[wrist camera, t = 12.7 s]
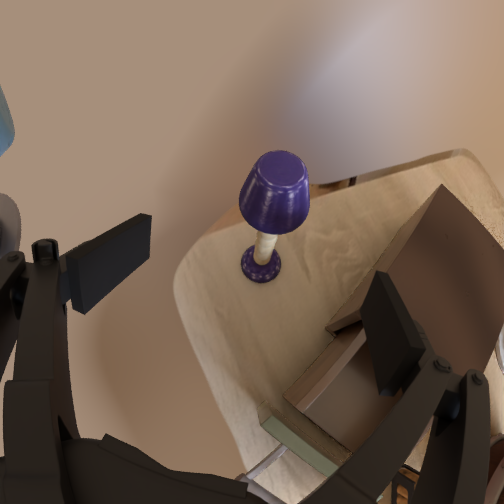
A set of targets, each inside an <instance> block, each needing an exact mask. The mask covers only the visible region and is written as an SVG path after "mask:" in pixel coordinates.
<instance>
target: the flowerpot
mask: <svg viewBox="0 0 504 504" xmlns="http://www.w3.org/2000/svg"><path fill="white" fill-rule="evenodd" d="M484 504H504V434H502V433H500V434H498V436H494V437H492V438H490V458H489V471H488V480H487V488H486V495H485V501H484Z"/></svg>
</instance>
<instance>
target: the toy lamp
mask: <svg viewBox="0 0 504 504" xmlns="http://www.w3.org/2000/svg"><path fill="white" fill-rule="evenodd" d="M239 207H240V211H241V213H242V216H243V217H244V219H245V220H246V221H247V222H248V224H249V225H251V226H252V227H253V228H255V229H256V230H258V232H257V239H256V242H255V245H253V246H251V247H250V248H248V249H247V250H246V251H245V253H244V254H243V256H242V259H241V267H242V271H243V272H244V274H245V276H246V277H247V278H249V279H250V280H251V281H254V282H257V283H265V282H269V281H271V280H273V279H274V278H275V277H276V276H277V275H278V273H279V272H280V268H281V260H280V257H279V255H278V253H277V251H276V250H275V249H274V247H275V243H276V241H277V237H278V235H281V234H286V233H289V232H292V231H293V230H295V229H296V228H298V227H299V226H300V225H301V224H302V223H303V222H304V220H305V219H306V217H307V215H308V212H309V207H310V194H309V181H308V172H307V169H306V166H305V164H304V163H303V161H302V160H301V159H300V158H298V157H297V156H296V155H294V154H292V153H290V152H287V151H282V150H276V151H270V152H268V153H265V154H264V155H262V156H261V157H260V158H259V159H258V160H257V162H256V163H255V164H254V166H253V168H252V170H251V172H250V173H249V175H248V177H247V179H246V181H245V183H244V185H243V187H242V189H241V191H240V196H239Z"/></svg>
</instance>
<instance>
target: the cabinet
mask: <svg viewBox="0 0 504 504" xmlns="http://www.w3.org/2000/svg"><path fill="white" fill-rule="evenodd" d="M376 270H377V271H381V272H385V273H388V274H389V276H390V278H391V280H392V281H393V283H394V285H395V287H396V289H397V291H398V293H399V294H400V296H401V298H402V300H403V302H404V304H405V306H406V308H407V310H408V312H409V314H410V316H411V318H412V319H413V320H416V321H417V322H418V323H419V324H420V325H421V326H422V327H423V329H424V331H425V333H426V335H427V337H428V340H429V341H430V343H431V345H432V347H433V349H434V351H435V354H436V355H438V356H441V357H443V358H445V359H446V360H447V361H449V363H450V364H451V365H452V368H453V373H456V374H458V375H461V376H464V375H465V374H466V372H467V371H468V370H469V369H476V370H478V371H481V372H482V374H483V372H484V370H485V368H486V366H487V364H488V361H489V359H490V357H491V355H492V352H493V350H494V348H495V345H496V343H497V340H498V338H499V335H500V333H501V330H502V327H503V324H504V249H503V248H502V247H501V246H500V245H499V243H498V242H497V241H496V240H495V239H494V237H493V236H492V235H491V234H490V233H489V232H488V230H487V229H486V228H485V227H484V226H483V225H482V224H481V223H480V222H479V220H478V219H477V218H476V217H475V216H474V215H473V214H472V213H471V212H470V211H469V210H468V209H467V208H466V207H465V206H464V205H463V204H462V203H461V202H460V201H459V200H458V199H457V198H456V197H455V196H454V195H453V194H452V193H451V192H450V191H449V190H448V189H447V188H446V187H445V186H444V185H443V184H441V185H440V186H439V187H438V188H437V189H436V190H435V191H434V192H433V194H432V195H431V196H430V197H429V198H428V199H427V200H426V201H425V202H424V204H423V205H422V206H421V207H420V208H419V209H418V210H417V211H416V212H415V213H414V214H413V215H412V216H411V217H410V219H409V220H408V221H407V222H406V223H405V224H404V225H403V226H402V227H401V229H400V230H399V232H398V233H397V235H396V236H395V238H394V239H393V240H392V242H391V243H390V245H389V246H388V247H387V249H386V250H385V252H384V253H383V254H382V256H381V257H380V258H379V260H378V261H377V263H376V264H375V265H374V267H373V268H372V269H371V271H370V272H369V273H368V274H367V276H366V277H365V278H364V280H363V281H362V282H361V284H360V285H359V286H358V287H357V289H356V290H355V291H354V292H353V294H352V295H351V296H350V297H349V299H348V300H347V301H346V302H345V304H344V305H343V306H342V307H341V308H340V310H339V311H338V312H337V313H336V314H335V316H334V317H333V318H332V319H331V320H330V321H329V323H328V324H327V325H326V326H325V328H326V329H327V330H328V331H329V332H330V333H331V334H332V335H333V336H334V337H336V336H337V335H338V334H339V333H340V332H341V330H342V329H343V328H344V327H346V326H348V325H350V324H353V323H355V322H357V321H359V320H362V319H361V315H360V308H361V306H362V304H363V302H364V299H365V297H366V294H367V292H368V290H369V287H370V285H371V282H372V280H373V277H374V275H375V272H376Z"/></svg>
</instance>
